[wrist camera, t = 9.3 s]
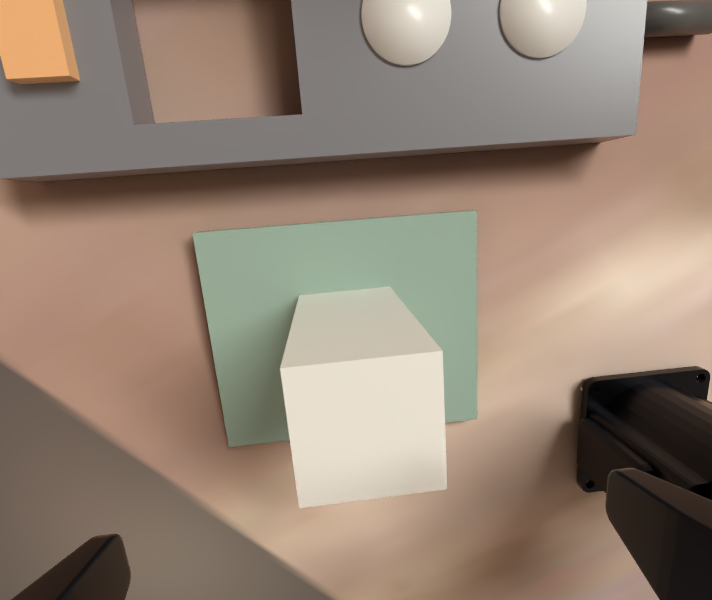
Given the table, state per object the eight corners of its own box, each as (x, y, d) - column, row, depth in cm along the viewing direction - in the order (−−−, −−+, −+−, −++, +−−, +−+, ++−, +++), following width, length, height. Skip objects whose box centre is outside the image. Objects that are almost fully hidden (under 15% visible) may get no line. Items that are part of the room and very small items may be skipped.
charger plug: (389, 286, 18) (442, 351, 10) (395, 370, 19) (447, 489, 11) (299, 295, 17) (280, 368, 10) (309, 379, 18) (299, 508, 11)
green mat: (469, 210, 18) (476, 210, 17) (471, 410, 20) (477, 419, 19) (198, 231, 17) (192, 233, 16) (232, 437, 20) (228, 447, 19)
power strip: (713, -106, 16) (788, -165, 13) (686, 136, 18) (745, 125, 15) (-30, -83, 14) (-107, -146, 12) (37, 181, 16) (-15, 177, 14)
